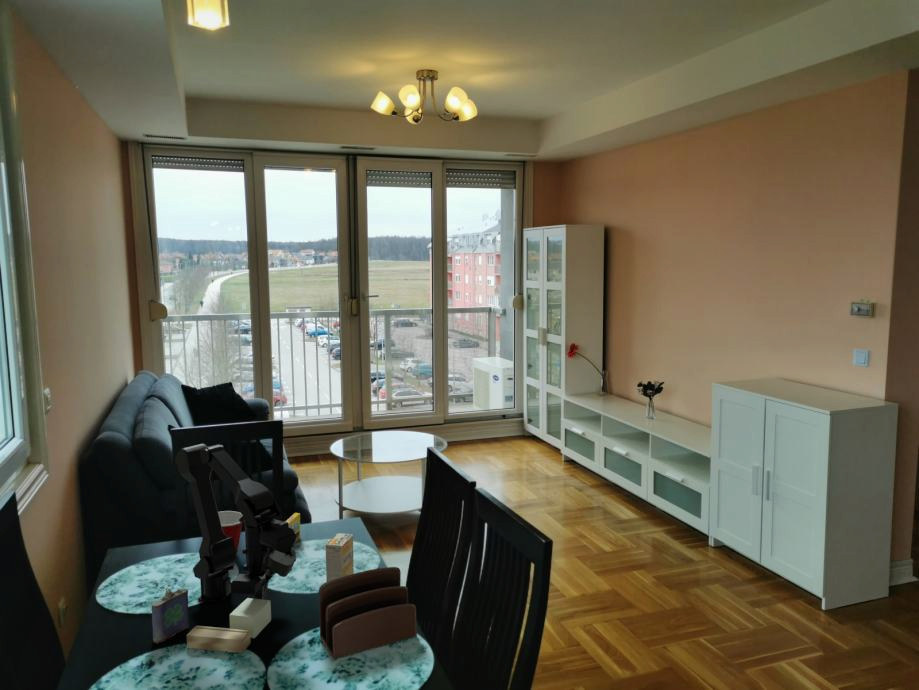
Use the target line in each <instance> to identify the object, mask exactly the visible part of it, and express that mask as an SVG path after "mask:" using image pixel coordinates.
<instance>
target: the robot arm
mask: <svg viewBox="0 0 919 690" xmlns="http://www.w3.org/2000/svg"><path fill="white" fill-rule="evenodd" d="M174 461H175V465H176V466H177V468H178V472H179V474H180V476H181V477H182V478H184V479H185V481H187V482H188V483H189V487H190V492H191V495H192V500H193V504H194V508H195V511H196V516H197V519H198V520H197V521H198V524H199V528H200V533H201V538H202V540H201V543H200V547H199V550H198V553H199V554H198V555H199V556H198V557H199V560H198V562H197V563H196V564H195V565H194V566H193V568H192V570H193V571H192V572H193V576H194V577H195V578H197V579H199V580H200V582H199V583H200V596H198V597H197V601H200V602H210V603H222V602H223V601H224V600H225V599H226V598H228V596H229V595H231V594H239V595H240V594H241V595H251V596H252V597H253V599H262V600H266V599H265V597H266V594H267V589H268V585H269V582H270V580H271V579H272V578H273V577H274V576H275V575H278V576H279V577H282V578H286V577H287V576H288V574H289V573H291V571H292V570H293V567H294V564H295V562H297V558H296V557H297V555H296V551H295V548H294V545H295V544H296V542H295V540H296V534H295V532H294V530H293V529H292V528H289V525H288V522H285V521H286V520H285V521H284V520H279V519H282V518H283V517H284V515H283V513H282V511H281V508H280V506H279V505H278V503H277V500H276V499H275V497H274V495H273V493H272V491H271V490H270V489H268V487H266V486H265V485H264V484H262V483H261V482H257V481H254V480H252V479H251V478H250V477H249V476H248V475H247V474H246V473H245V472H244V471H243V470H242V468H241V467H240V466H239V464H237V463H236V461H234V459H233V458H232V457H231V456H230V455H229V454H228V453H227V451H226V448H225V446H224V445H223V444H215V445H210V446H209V445H208V446H207V445H206V444H205V443H200V444H195V445H191V446H187V447H182V448H179V449H178V451H177V454H176V455H175V458H174ZM212 471H213V472H214V473H215V475H217V477H219V479H220V480H221V481H222V482H223V483H224V484H225V486H226V487H227V488H228V489H229V490H230V491H231V493H232V495H233V496H234V504H235V506H236V507H237V509H238V512H240V513H241V514H242V515H243V516H242V517H241V518H240V519H239V522H242V523H243V524H244V539H245V540H244V541H245V543H244V544H245V547H243V548H242V551H241V552H242V554H243V555H245V558H246V563H244V565H243V566H242V570H243V571H248V572H247V573H246V574H244V573H239V574H238V575H237V576H236V577H235V578H234V579H233V580H232V579H231V578H232V577H230V571H232V570H234V569H235V565H236V560H237V558H238V557H237V556H238V553H236V552H237V550H236V548H235V545H234V539H233V538H232V537H230V538H229V537H227V536H226V535H225V534H224V533H223V530H222V526H221V522H220V518H219V514H218V512H219V511H218V507H217V506H218V505H217V502H216V499H215V494H214V489H213V486H212V481H211V474H212ZM269 512H270V513H269ZM262 514H264V515H262Z"/></svg>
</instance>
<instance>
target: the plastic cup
mask: <svg viewBox="0 0 919 690" xmlns="http://www.w3.org/2000/svg"><path fill="white" fill-rule="evenodd" d="M218 514H219V518H220V522H221V526H222V530H223V533H224V534H225V535H226V536H227V537H229V538H230V537H232V538H233V539H234V545H235V548H236V550H237V552H236V553H237V554H238V552H239V544H240V540H241V533H242V527H243V524H244V523H242V522H239V519H240V518H241V517H242V516H243V515H242V514H241V512H240V511H236V510H235V511H233V510H224V511H218Z"/></svg>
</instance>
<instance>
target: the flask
mask: <svg viewBox="0 0 919 690" xmlns="http://www.w3.org/2000/svg"><path fill="white" fill-rule="evenodd" d="M164 591H165V594H164V596H162V597H161V598H159V599H157V600H155V601H154V602H152V604H151V620H152V621H151V624H152V640H153V641H152V642H153V643H154V644H159V643H162V642H164V641H167V639H168V640H169V639H170V638H172V637H174V636H175V635H176V634H177V633H180V632H182V631H184V630H185V629H188V628H189V626H190V623H189V622H190V619H189V617H190V616H189V611H190V610H189V596H188V595H189V590H188V589H186V588H180V589H179V588H178V589H177V590H175V591H173V590H171V588H169V587H166V588H165V589H164Z"/></svg>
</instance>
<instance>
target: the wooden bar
mask: <svg viewBox="0 0 919 690" xmlns="http://www.w3.org/2000/svg"><path fill="white" fill-rule="evenodd" d="M251 641H252V640H251V638H250V630H239V629H230V628H228V627H227V628H226V627H214V626H206V625H205V626H204V625H195V626H194V627H193V628H192V629H191V630H190V631H189V632H188V633H187V634H186V648H187V649H197V650H206V651H207V650H208V651H215V650H220V651H219V652H225V651H228V652H227V653H236V652H238V653H237V654H242V652H243V653H244V652H245V650H246V649H247V648H248V647H249V646H250V644H251Z"/></svg>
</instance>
